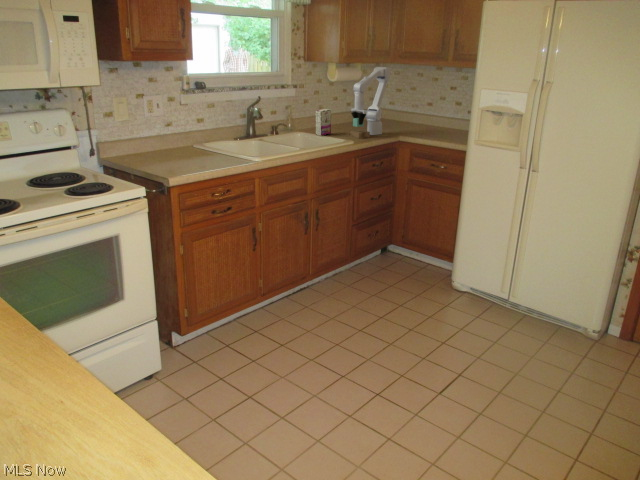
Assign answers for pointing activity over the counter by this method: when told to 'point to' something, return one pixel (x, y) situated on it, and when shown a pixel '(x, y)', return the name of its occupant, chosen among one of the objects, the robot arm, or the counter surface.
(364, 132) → the walnut block
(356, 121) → the teal cube
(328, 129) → the candy bar box
